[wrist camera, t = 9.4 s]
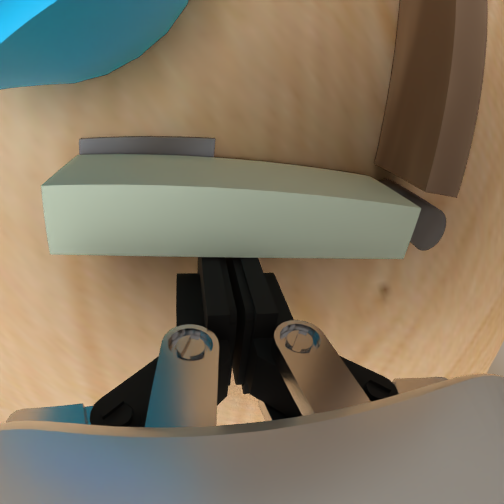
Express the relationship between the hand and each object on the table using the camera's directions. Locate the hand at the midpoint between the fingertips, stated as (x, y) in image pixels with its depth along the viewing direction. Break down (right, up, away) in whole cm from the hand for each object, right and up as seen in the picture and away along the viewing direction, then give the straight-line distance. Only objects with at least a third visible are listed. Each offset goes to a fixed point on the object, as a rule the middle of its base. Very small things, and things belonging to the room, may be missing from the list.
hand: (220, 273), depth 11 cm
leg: (0, +3, 0) cm, 3 cm away
